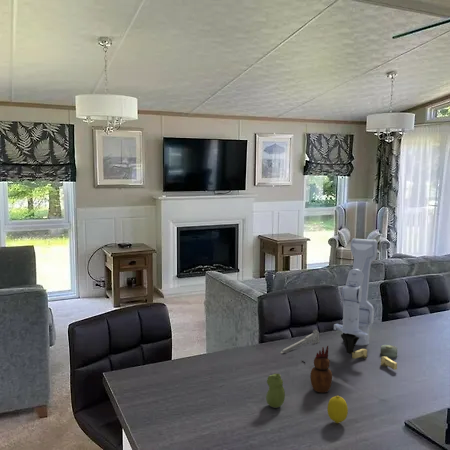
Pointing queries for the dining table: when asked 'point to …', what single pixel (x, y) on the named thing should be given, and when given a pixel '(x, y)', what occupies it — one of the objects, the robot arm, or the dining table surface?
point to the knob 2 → (388, 362)
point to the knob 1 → (360, 354)
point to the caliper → (303, 341)
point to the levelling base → (389, 351)
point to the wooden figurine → (321, 372)
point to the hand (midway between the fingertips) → (349, 352)
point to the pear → (275, 391)
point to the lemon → (337, 409)
